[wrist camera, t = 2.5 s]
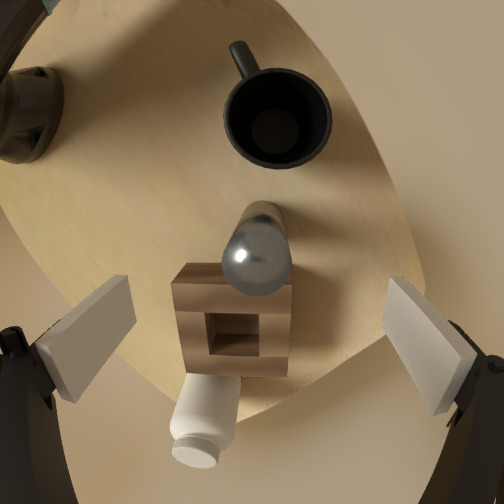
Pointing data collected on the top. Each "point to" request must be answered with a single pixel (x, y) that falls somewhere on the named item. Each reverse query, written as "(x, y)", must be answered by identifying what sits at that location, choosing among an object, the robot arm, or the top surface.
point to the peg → (258, 252)
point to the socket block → (230, 325)
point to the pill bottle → (205, 418)
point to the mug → (275, 114)
